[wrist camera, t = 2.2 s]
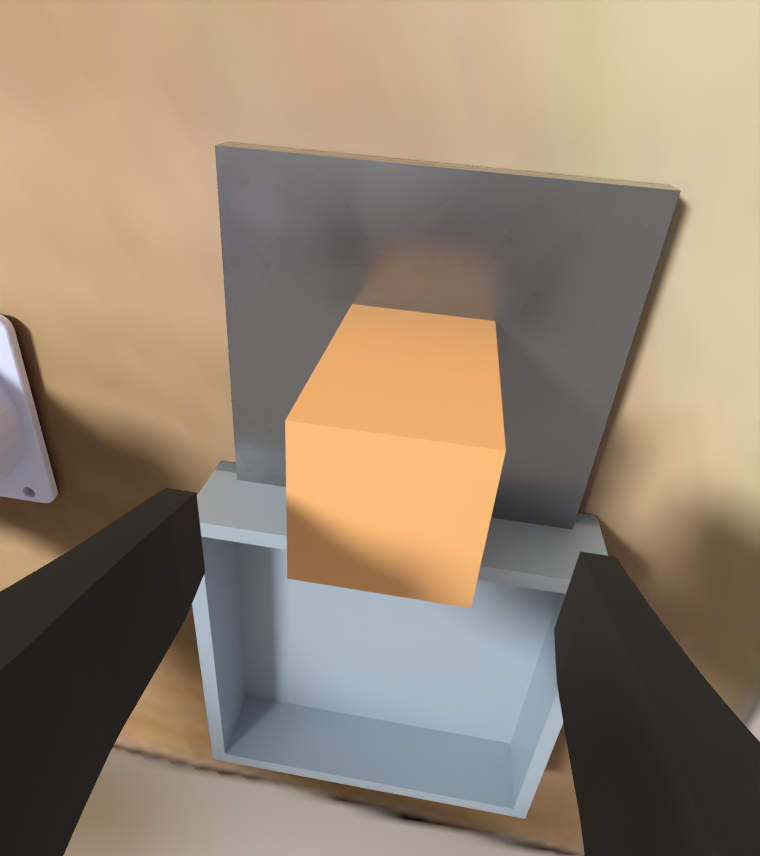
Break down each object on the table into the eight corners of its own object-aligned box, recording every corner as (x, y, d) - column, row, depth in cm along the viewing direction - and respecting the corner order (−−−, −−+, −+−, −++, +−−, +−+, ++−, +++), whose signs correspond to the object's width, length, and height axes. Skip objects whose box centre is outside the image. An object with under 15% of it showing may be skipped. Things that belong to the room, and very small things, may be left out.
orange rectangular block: (345, 425, 19) (287, 578, 13) (352, 304, 17) (284, 420, 11) (472, 443, 19) (470, 608, 13) (495, 320, 17) (505, 450, 11)
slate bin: (239, 690, 29) (212, 759, 26) (221, 460, 22) (180, 519, 19) (519, 740, 28) (525, 818, 25) (596, 515, 21) (617, 587, 18)
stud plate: (247, 485, 22) (185, 593, 18) (228, 141, 16) (125, 164, 11) (562, 532, 21) (586, 660, 17) (669, 185, 15) (757, 229, 10)
